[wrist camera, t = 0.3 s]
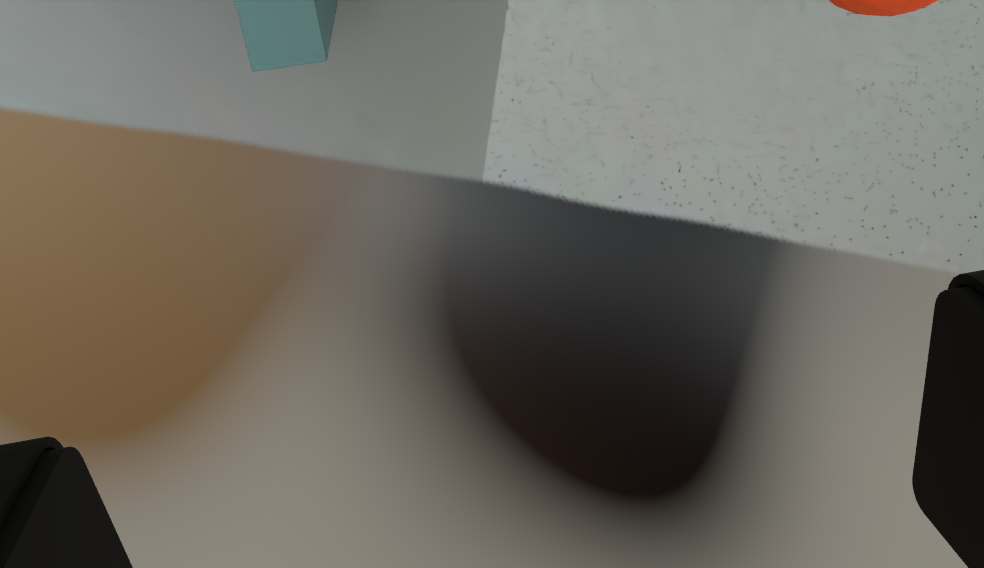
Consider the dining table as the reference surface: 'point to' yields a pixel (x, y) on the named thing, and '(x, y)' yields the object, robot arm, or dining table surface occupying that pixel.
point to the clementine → (881, 6)
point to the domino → (286, 31)
